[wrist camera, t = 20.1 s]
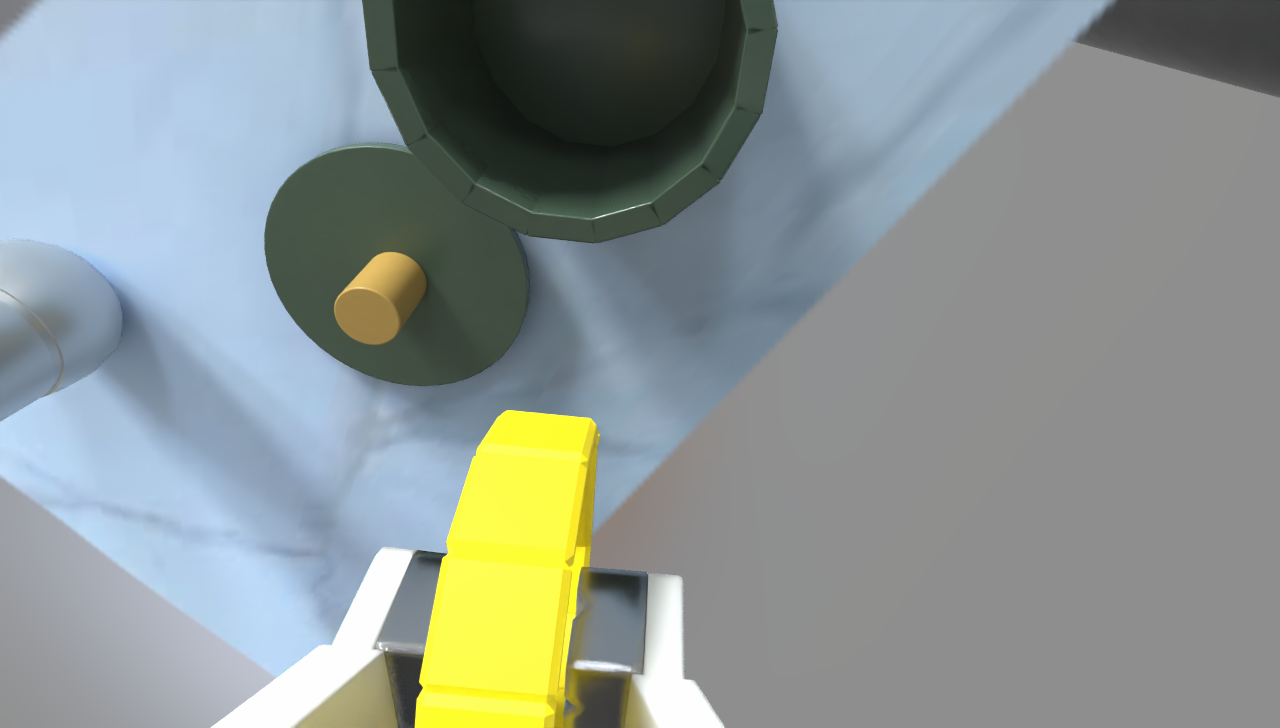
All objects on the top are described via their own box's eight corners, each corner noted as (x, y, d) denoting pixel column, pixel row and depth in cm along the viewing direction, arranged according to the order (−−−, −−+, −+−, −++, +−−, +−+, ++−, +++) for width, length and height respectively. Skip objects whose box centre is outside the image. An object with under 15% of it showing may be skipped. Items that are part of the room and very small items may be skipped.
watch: (471, 337, 10) (280, 717, 5) (650, 354, 10) (626, 748, 5) (484, 591, 14) (374, 974, 9) (621, 604, 14) (590, 993, 9)
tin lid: (533, 154, 27) (510, 192, 23) (531, 383, 34) (512, 444, 30) (252, 123, 27) (181, 156, 23) (302, 360, 33) (252, 417, 29)
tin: (771, -148, 22) (819, -186, 15) (718, 175, 28) (735, 259, 20) (444, -187, 22) (333, -245, 15) (460, 146, 27) (386, 221, 20)
